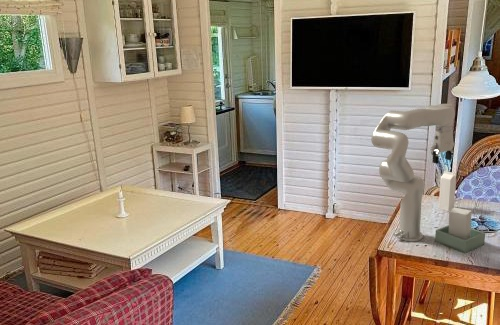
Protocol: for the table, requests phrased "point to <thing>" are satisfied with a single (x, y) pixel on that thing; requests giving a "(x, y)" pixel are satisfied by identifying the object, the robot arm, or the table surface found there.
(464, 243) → the tote
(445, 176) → the milk
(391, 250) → the table surface
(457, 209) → the skincare box
